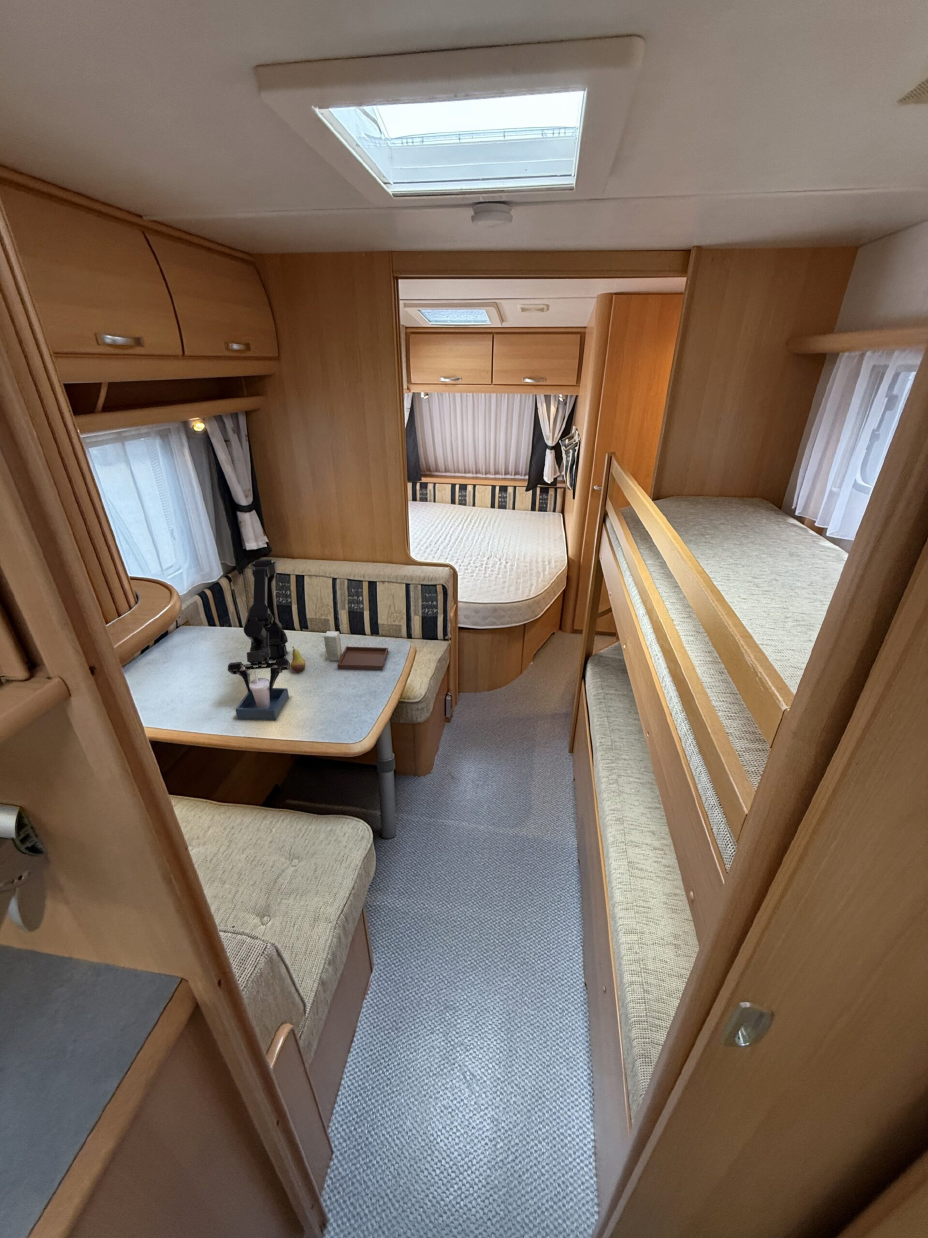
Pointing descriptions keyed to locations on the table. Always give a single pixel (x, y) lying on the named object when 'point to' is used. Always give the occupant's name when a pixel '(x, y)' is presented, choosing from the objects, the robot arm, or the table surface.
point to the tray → (363, 658)
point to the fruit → (297, 661)
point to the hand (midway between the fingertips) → (259, 691)
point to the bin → (251, 711)
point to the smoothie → (260, 691)
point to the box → (333, 645)
